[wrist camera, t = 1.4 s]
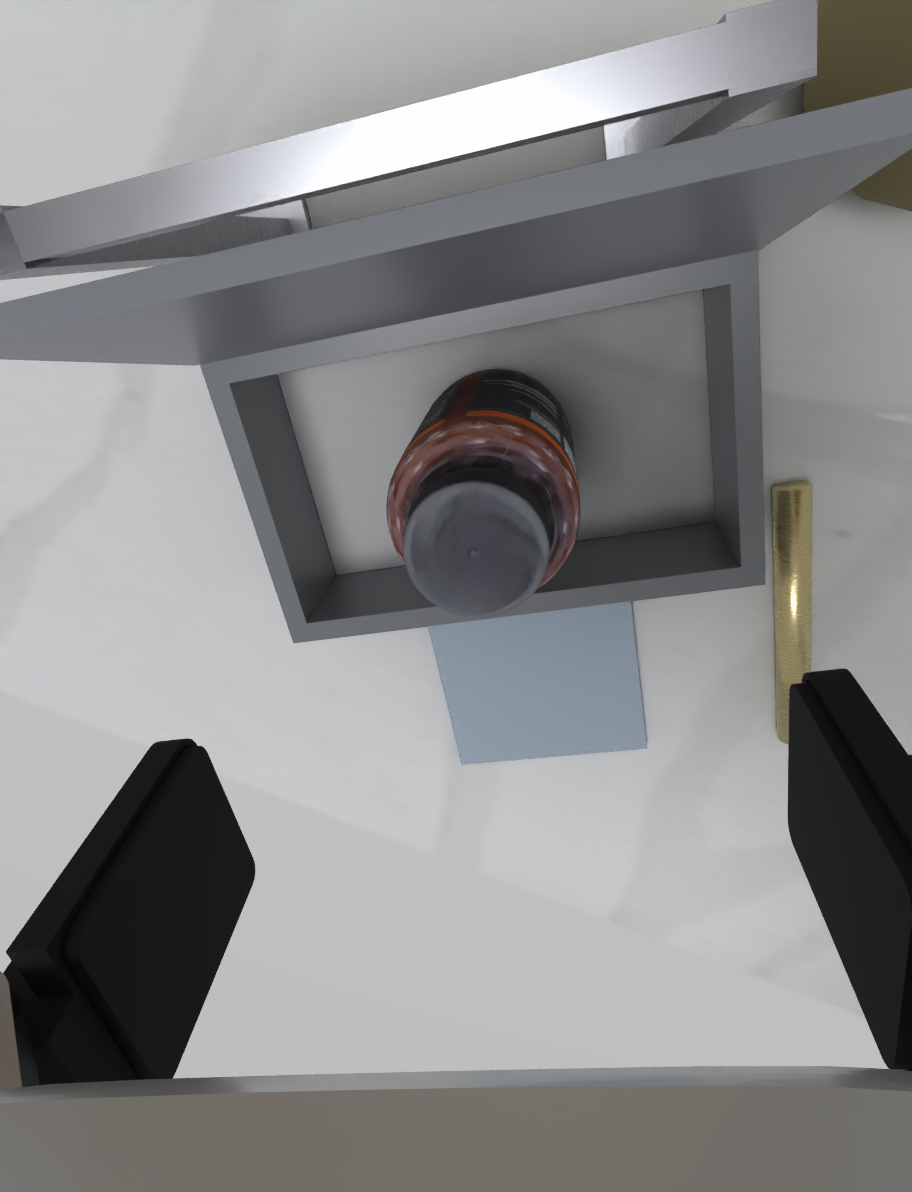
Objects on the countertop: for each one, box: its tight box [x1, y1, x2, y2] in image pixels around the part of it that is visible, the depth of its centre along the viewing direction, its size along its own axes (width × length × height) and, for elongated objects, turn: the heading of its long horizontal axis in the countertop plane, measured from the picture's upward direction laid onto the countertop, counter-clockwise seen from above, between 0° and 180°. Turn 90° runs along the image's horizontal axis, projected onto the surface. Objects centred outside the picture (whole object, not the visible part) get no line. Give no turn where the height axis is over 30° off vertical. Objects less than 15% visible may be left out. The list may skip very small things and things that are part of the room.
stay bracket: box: [0, 0, 817, 280], centre depth 19 cm, size 3×15×16 cm, turn 102°
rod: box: [772, 481, 812, 744], centre depth 31 cm, size 12×1×1 cm
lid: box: [0, 88, 912, 365], centre depth 18 cm, size 11×18×1 cm
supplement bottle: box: [387, 370, 580, 618], centre depth 25 cm, size 6×6×11 cm
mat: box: [428, 601, 647, 765], centre depth 34 cm, size 9×9×1 cm
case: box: [200, 250, 765, 643], centre depth 28 cm, size 11×18×4 cm, turn 102°
